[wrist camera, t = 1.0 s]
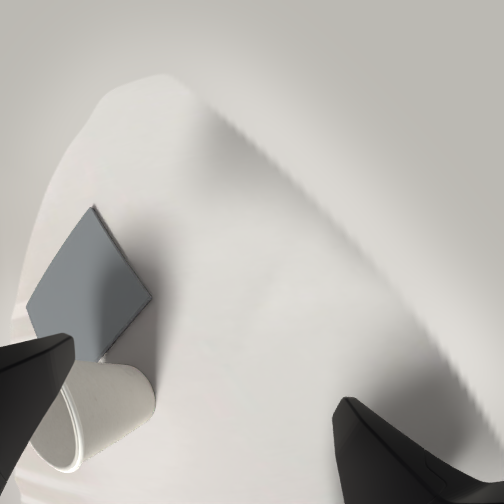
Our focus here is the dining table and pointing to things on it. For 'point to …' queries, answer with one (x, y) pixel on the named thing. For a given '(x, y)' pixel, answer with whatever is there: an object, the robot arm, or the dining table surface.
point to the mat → (87, 291)
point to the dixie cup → (92, 413)
